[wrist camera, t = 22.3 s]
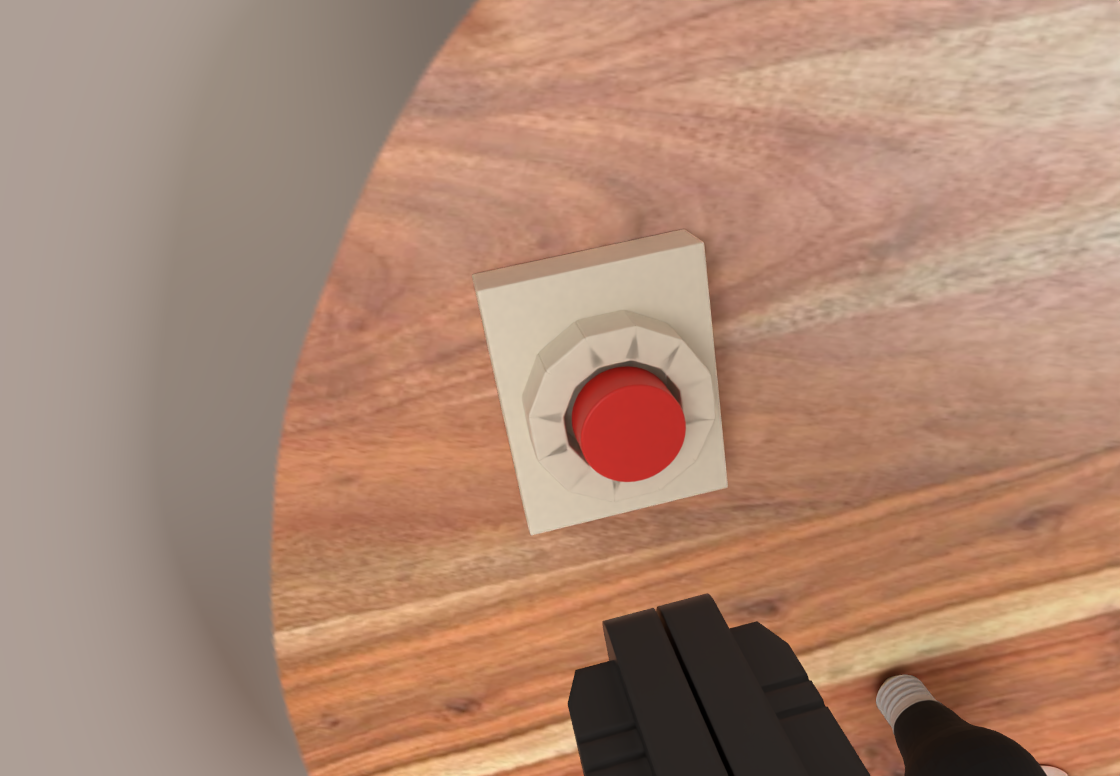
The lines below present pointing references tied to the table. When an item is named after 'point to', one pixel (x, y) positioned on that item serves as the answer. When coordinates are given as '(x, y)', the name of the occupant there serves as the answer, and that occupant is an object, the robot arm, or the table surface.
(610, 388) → the button
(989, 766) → the light bulb
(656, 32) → the table surface
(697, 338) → the button block
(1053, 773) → the cosmetic bottle
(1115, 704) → the table surface
